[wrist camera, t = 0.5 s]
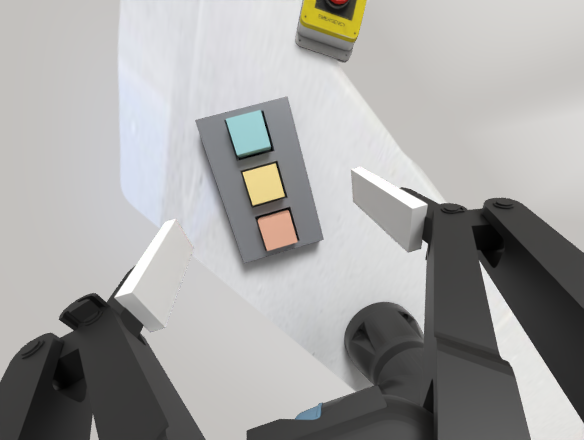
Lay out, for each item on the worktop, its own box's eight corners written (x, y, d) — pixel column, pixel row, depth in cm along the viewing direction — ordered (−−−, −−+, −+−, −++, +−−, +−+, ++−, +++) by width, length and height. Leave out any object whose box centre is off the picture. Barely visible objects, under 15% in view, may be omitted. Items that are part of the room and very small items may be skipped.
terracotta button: (295, 237, 36) (297, 242, 33) (267, 245, 35) (267, 251, 32) (287, 209, 35) (289, 212, 32) (258, 217, 34) (257, 221, 31)
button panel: (319, 235, 38) (323, 239, 35) (246, 257, 37) (243, 263, 34) (285, 104, 34) (287, 96, 31) (201, 125, 33) (195, 120, 30)
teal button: (270, 149, 33) (270, 146, 30) (240, 157, 32) (237, 155, 30) (261, 116, 32) (260, 109, 29) (229, 124, 31) (225, 118, 29)
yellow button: (283, 195, 34) (284, 196, 31) (254, 203, 34) (252, 205, 31) (275, 165, 33) (275, 163, 30) (244, 173, 33) (242, 172, 30)
